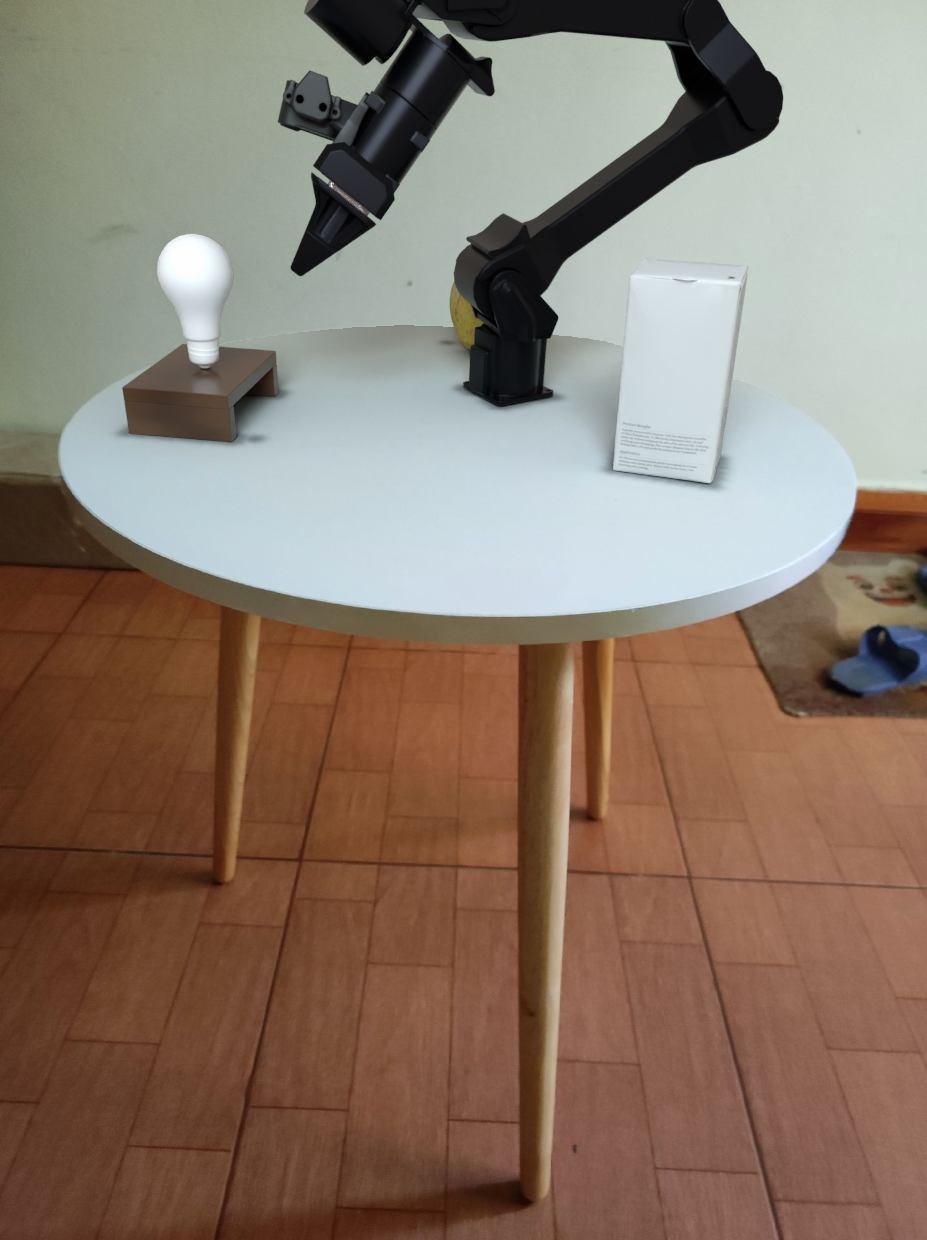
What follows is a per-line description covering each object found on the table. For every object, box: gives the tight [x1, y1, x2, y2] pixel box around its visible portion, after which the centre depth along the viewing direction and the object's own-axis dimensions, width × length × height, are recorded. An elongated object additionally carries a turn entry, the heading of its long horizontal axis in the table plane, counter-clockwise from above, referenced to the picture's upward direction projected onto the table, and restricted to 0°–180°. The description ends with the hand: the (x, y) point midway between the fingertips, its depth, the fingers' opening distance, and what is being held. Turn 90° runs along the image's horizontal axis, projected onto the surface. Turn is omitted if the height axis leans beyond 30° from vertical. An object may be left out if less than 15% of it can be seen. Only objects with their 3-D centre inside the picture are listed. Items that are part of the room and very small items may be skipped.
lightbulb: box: [156, 233, 235, 368], centre depth 84 cm, size 6×6×11 cm
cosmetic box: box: [612, 257, 749, 484], centre depth 77 cm, size 8×7×16 cm
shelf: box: [122, 343, 280, 443], centre depth 88 cm, size 9×13×4 cm
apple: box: [449, 282, 483, 351], centre depth 105 cm, size 9×9×10 cm
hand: (298, 269), depth 84 cm, fingers open, 9 cm apart
